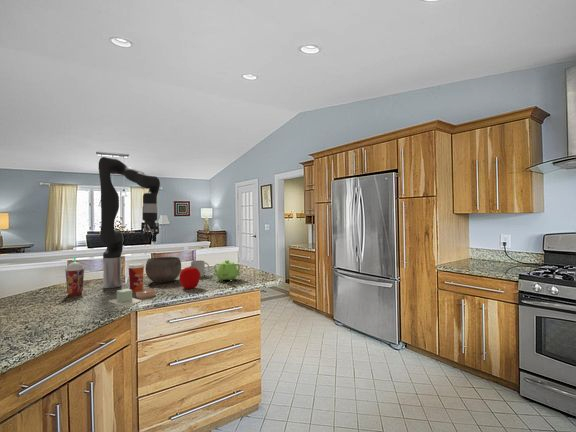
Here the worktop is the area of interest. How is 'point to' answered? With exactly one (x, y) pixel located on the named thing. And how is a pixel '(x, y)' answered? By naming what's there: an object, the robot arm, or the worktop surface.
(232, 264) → the teapot
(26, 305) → the worktop surface
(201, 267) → the mug
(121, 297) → the cube
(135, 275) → the coffee cup
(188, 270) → the tomato
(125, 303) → the mat
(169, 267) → the bowl
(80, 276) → the smoothie
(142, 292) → the peach domed disc
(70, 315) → the worktop surface
